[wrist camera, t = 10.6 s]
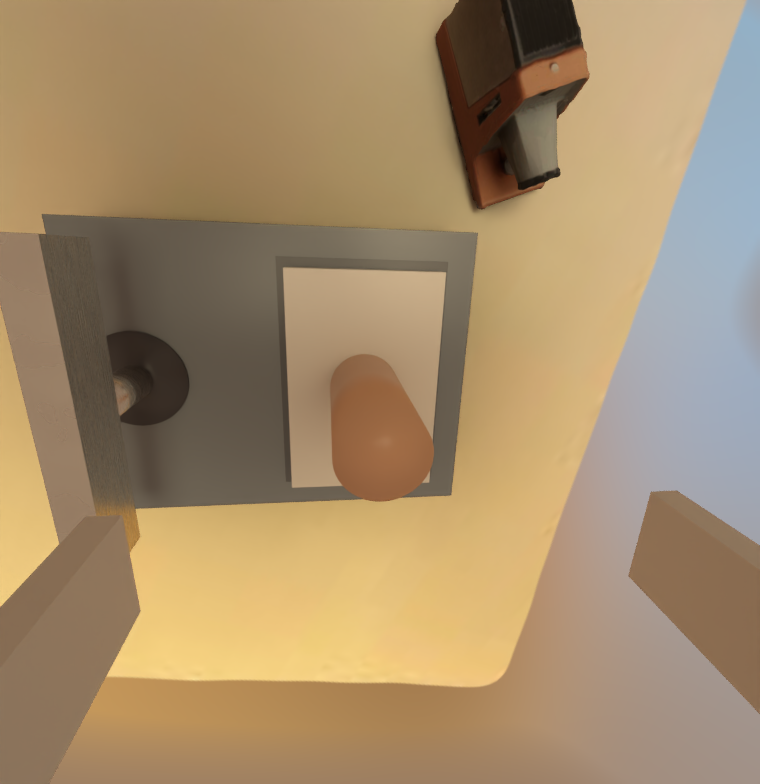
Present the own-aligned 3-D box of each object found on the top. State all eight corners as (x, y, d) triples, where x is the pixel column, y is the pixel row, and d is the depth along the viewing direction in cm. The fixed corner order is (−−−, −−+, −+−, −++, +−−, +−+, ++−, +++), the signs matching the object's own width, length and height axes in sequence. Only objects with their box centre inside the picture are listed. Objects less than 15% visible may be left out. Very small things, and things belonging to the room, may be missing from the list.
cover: (285, 266, 21) (255, 276, 12) (438, 271, 22) (516, 283, 13) (293, 474, 25) (275, 599, 16) (423, 469, 26) (475, 585, 17)
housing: (98, 222, 24) (38, 213, 19) (450, 236, 26) (479, 232, 21) (141, 467, 29) (102, 511, 24) (432, 459, 31) (452, 497, 26)
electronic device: (472, 213, 26) (527, 195, 19) (429, 34, 23) (476, -68, 16) (536, 189, 26) (616, 163, 19) (503, 8, 23) (584, -105, 16)
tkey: (134, 498, 23) (67, 584, 17) (90, 238, 19) (-22, 230, 13) (168, 497, 24) (112, 582, 18) (132, 240, 19) (41, 234, 13)
